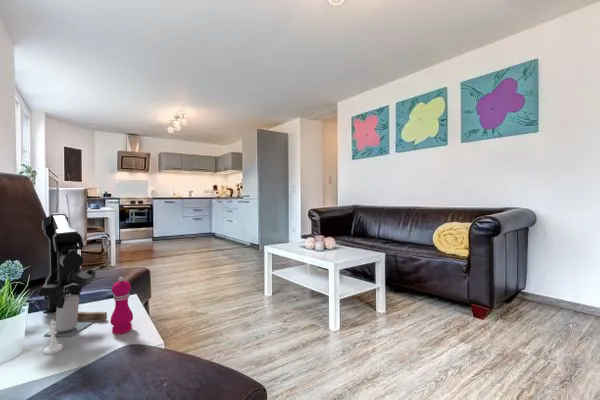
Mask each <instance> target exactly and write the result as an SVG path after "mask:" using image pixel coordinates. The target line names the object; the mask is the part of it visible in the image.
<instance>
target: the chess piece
mask: <svg viewBox="0 0 600 400" xmlns="http://www.w3.org/2000/svg"><path fill="white" fill-rule="evenodd" d="M55 323H56V321H55V318H54V319H50V321H48V324H50V325H48V329H49V332H50V331H51V332H50V333H49V335H51V336H50V340H49V341H50V342H49V345H48V346H47V347H45V348H44V349H43V352H42V354H44V355H52V354H55V353H57V352H60V351H62V350H63V348H64V347H63V345H62V344H60V343H57V341H56V336H55V334H56V333H57V331H55V329H56V326H57V325H56V324H55Z"/></svg>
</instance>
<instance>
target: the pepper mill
mask: <svg viewBox="0 0 600 400" xmlns="http://www.w3.org/2000/svg"><path fill="white" fill-rule="evenodd" d="M117 280H118V281H116V282H114V284H113V285H112V286H111V293H112V294H113V300H114V301H115V304H114V309H113V312H112V314H111V317H110V325H112V327H111V333H112V334H113V335H124V334H126V333H128V332H130V331H131V330H132V327H133V325H132V321H133V320H134V314H133V312H132V310H131V308H130V306H129V301H128V300H129V298H130V291H131V283H130V282H129V281H128V280H125V278H124V277H123V276H120V277H119V278H118V279H117Z"/></svg>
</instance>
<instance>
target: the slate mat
mask: <svg viewBox="0 0 600 400" xmlns="http://www.w3.org/2000/svg"><path fill="white" fill-rule="evenodd" d="M92 324H93V322H77V326H76V327H75V328H74V329H72V330H69V331H57V330H55V331H57V333H56V334H55V337H68V338H69V337H70V338H71V337H74V336H75V335H76V334H78V333H80V332H82V331H83V330H85V329H86V328H88V327H90V326H91V325H92ZM50 332H51V331H50V330H49V331H48V332H46V333H44V335H43V337H51V335H49V333H50Z"/></svg>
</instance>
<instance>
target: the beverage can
mask: <svg viewBox="0 0 600 400" xmlns="http://www.w3.org/2000/svg"><path fill="white" fill-rule="evenodd" d="M79 303H80V296H79V297H78V295H70V294H69V295H65V297H64V305H63V308H59V309H58V307H57V311H56V320H55V319H54V321H56V323H54V324H56V325H57V326H56V329H55V330H57V331H69V330H72V329H74V328H75V327H76V326H77V323H78V321H77V317H78V312H79V306H80V305H79Z"/></svg>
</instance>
